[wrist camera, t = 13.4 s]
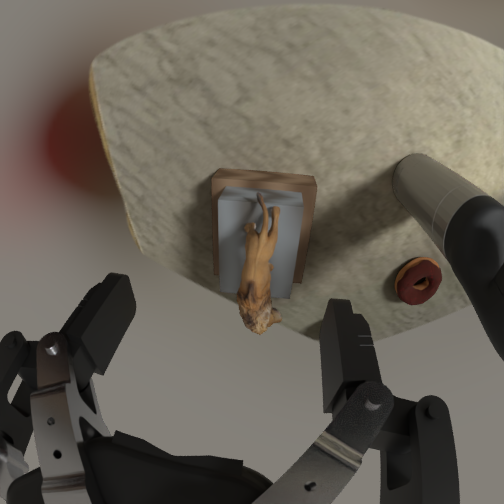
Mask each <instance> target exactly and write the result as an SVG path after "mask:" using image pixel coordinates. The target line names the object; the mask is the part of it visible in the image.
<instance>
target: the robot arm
mask: <svg viewBox="0 0 504 504" xmlns="http://www.w3.org/2000/svg"><path fill="white" fill-rule="evenodd" d="M393 190H394V193H395V195H396V197H397V199H398V200H399V201H400V202H401V203H402V205H403V206H404V207H405V208H406V209H407V210H408V212H409V213H410V214H411V215H412V216H413V217H414V219H415V220H416V221H417V222H418V223H419V225H420V226H421V227H422V228H423V229H424V231H425V232H426V233H427V234H428V236H429V237H430V238H431V239H432V241H433V242H434V243H435V245H436V246H437V247H438V248H439V250H440V251H441V252H442V254H443V255H444V256H445V258H446V259H447V260H448V262H449V263H450V265H451V267H452V269H453V272H454V273H455V275H456V277H457V278H458V280H459V282H460V283H461V285H462V286H463V288H464V290H465V292H466V293H467V295H468V297H469V299H470V301H471V303H472V305H473V307H474V309H475V311H476V313H477V315H478V317H479V319H480V321H481V323H482V325H483V327H484V329H485V331H486V334H487V335H488V337H489V339H490V341H491V343H492V344H493V346H494V348H495V350H496V351H497V353H498V354H499V356H500V357H501V358H502V360H503V361H504V206H503V205H501V204H500V203H499V202H498V201H496V200H495V199H494V198H492V197H491V196H490V195H488V194H487V193H486V192H484V191H483V190H481V189H480V188H478V187H477V186H475V185H474V184H472V183H471V182H470V181H468V180H467V179H465V178H463V177H462V176H460V175H459V174H457V173H456V172H454V171H453V170H451V169H449V168H448V167H446V166H444V165H443V164H441V163H440V162H438V161H436V160H434V159H432V158H431V157H429V156H427V155H424V154H412V155H409V156H407V157H405V158H404V159H403V160H402V161H401V162H400V163H399V164H398V166H397V168H396V169H395V172H394V175H393ZM135 312H136V301H135V298H134V294H133V291H132V287H131V283H130V280H129V277H128V276H127V275H124V274H118V273H109V274H108V275H107V276H106V278H105V279H104V280H103V282H102V283H98V284H97V285H95V286H94V287H93V288H91V289H90V290H89V291H88V293H87V294H86V295H85V297H84V298H83V300H82V301H81V302H80V304H79V305H78V307H77V308H76V309H75V310H74V312H73V313H72V314H71V316H70V317H69V318H68V320H67V321H66V323H65V324H64V326H63V327H62V329H61V330H60V331H59V332H51V333H48V334H46V335H45V336H43V338H41V340H40V341H26V339H25V338H24V336H23V335H22V333H21V332H19V331H12V332H9V333H8V334H6V335H5V336H4V337H3V339H2V340H1V342H0V497H1V498H3V499H4V500H5V501H6V503H7V504H331V503H332V502H333V501H334V499H335V498H336V497H337V496H338V495H339V493H340V492H341V491H342V490H343V489H344V487H345V486H346V485H347V483H348V482H349V481H350V480H351V478H352V477H353V476H354V474H355V473H356V471H357V470H358V468H359V467H360V465H361V463H362V461H361V459H362V457H363V456H364V454H365V453H366V451H367V450H368V448H372V449H377V450H380V458H381V490H380V504H460V495H459V478H458V467H457V458H456V450H455V443H454V436H453V432H452V431H453V430H452V425H451V420H450V414H449V410H448V407H447V405H446V403H445V402H444V401H443V400H442V399H441V398H439V397H437V396H433V395H429V396H425V397H423V398H422V399H421V400H419V402H414V401H409V400H406V399H401V398H398V397H396V396H394V395H393V394H392V392H391V391H390V389H389V388H387V386H385V385H384V384H383V383H382V380H381V375H380V371H379V366H378V361H377V357H376V352H375V348H374V347H373V345H374V344H373V340H372V337H371V331H370V327H369V324H368V323H367V321H366V320H365V319H364V317H363V316H362V315H361V314H353V310H352V306H351V302H350V300H346V299H332V298H331V299H330V300H329V302H328V305H327V308H326V312H325V315H324V318H323V321H322V325H321V329H320V354H321V369H322V387H323V409H324V413H332V417H333V420H332V422H331V423H330V424H329V425H328V427H327V428H326V429H325V430H324V431H323V433H322V434H321V435H320V436H319V437H318V438H317V439H316V440H315V441H314V443H313V444H312V445H311V446H310V447H309V448H308V449H307V450H306V452H305V453H304V454H303V455H302V456H301V457H300V458H299V459H298V460H297V461H296V462H295V463H294V464H293V466H291V467H290V468H289V469H288V470H287V472H285V473H284V474H283V475H282V476H281V477H280V478H279V479H278V480H277V481H276V482H275V483H274V484H273V483H272V482H271V481H270V480H269V479H268V478H266V477H265V476H264V475H262V474H260V473H259V472H257V471H254V470H252V469H250V468H248V467H245V466H243V460H236V459H228V458H221V457H215V456H209V455H208V456H173V455H171V454H169V453H167V452H165V451H163V450H161V449H159V448H157V447H155V446H154V445H152V444H150V443H149V442H147V441H145V440H143V439H140V438H137V437H134V436H131V435H128V434H125V433H122V432H119V431H117V430H116V431H115V434H114V436H111V434H110V432H109V430H108V428H107V426H106V425H105V423H104V421H103V419H102V416H101V412H100V409H99V405H98V401H97V397H96V393H95V388H94V384H93V380H92V378H91V377H92V375H93V373H97V374H100V375H104V373H105V371H106V369H107V367H108V365H109V363H110V361H111V359H112V357H113V355H114V353H115V351H116V349H117V348H118V345H119V344H120V342H121V340H122V338H123V336H124V334H125V332H126V330H127V329H128V327H129V325H130V323H131V321H132V320H133V318H134V315H135ZM17 374H18V375H19V376H20V377H21V378H22V382H21V384H20V386H19V388H18V390H17V392H16V394H15V396H14V398H13V401H12V403H11V404H10V403H9V402H8V399H7V394H8V391H9V389H10V387H11V385H12V383H13V381H14V379H15V377H16V376H17ZM33 430H34V437H35V443H36V448H37V453H38V459H39V463H40V467H38V468H37V469H35V470H32V471H30V472H28V471H29V466H28V464H27V463H26V462H25V461H24V454H25V451H26V448H27V446H28V443H29V440H30V437H31V435H32V432H33ZM27 472H28V473H27ZM24 473H26V474H24Z"/></svg>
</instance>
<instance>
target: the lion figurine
mask: <svg viewBox="0 0 504 504" xmlns="http://www.w3.org/2000/svg"><path fill="white" fill-rule="evenodd" d="M256 196H257V200H258V203H259V204H260V206H261V208H262V210H263V225H262V229H261V232H260V233H258V232H257V231H256V230H255V228H256V224H255V223H254V222H252V223H247V224H246V225H245V227H244V229H245V231H246V232H248V233H247V236H246V244H245V250H246V260H245V263H244V266H243V270H242V275H241V283H240V288H239V289H238V292H237V302H238V304H239V310H240V315H241V317H242V319H243V322H244V324H245V326H246V327H247V328H248V329H250V330H251V331H252V332H255V333H257V334H259V335H261V334H262V333H263V332H265V331H266V330H267V327H270V326H271V325H272V324H273V323H278V322H281V321H282V317H281V313H280V312H279V311H277V309H276V308H272V305H271V304H272V301H271V300H270V297H271V290H270V281H271V274H270V271H272V270H273V269H274V267H273V265H272V264H271V263H269V260H270V258H271V257H272V255H273V253H274V250H275V245H276V243H277V240H278V219H279V214H280V208H279V207H278V206H273V207H272V208H271V215H272V217H271V218H272V224H271V227H270V230H269V231H268V222H269V218H268V210H267V208H266V205H265V204H264V201H263V196H262V195H261V193H260V192H257V193H256Z"/></svg>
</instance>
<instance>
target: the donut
mask: <svg viewBox="0 0 504 504" xmlns="http://www.w3.org/2000/svg"><path fill="white" fill-rule="evenodd" d="M423 277H426V280H425V281H424V282H422V283H420V284H417V285H414V284H415V283H416V282H417V281H418V280H419V279H421V278H423ZM441 281H442V274H441V269H440V268H439V265H438V264H437V262H435V261H434V260H433V259H431V258H426V257H419V258H416V259H414V260H412V261H410V262H409V263H408V264H406V265H405V266H404V267H403V268H402V269H401V270H400V271H399V273H398V275H397V277H396V280H395V290H396V293H397V294H398V297H399V298H400V299H401V300H402V301H403V302H405V303H407V304H409V305H418V304H422V303H424V302H425V301H427V300H428V299H429V298H431V297H432V296H433V295H434V294H435V292H436V291H437V289H438V287H439V285H440V283H441ZM413 285H414V286H413Z"/></svg>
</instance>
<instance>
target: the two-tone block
mask: <svg viewBox="0 0 504 504" xmlns="http://www.w3.org/2000/svg"><path fill="white" fill-rule="evenodd" d="M211 182H212V233H213V262H214V275H219V277H220V292H228V293H237V292H238V289H239V288H240V283H241V275H242V270H243V266H244V263H245V260H246V250H245V244H246V236H247V233H248V232H246V231H245V229H244V227H245V225H246V224H247V223H252V222H254V223H255V224H256V228H255V230H256V231H257V232H258V233H260V232H261V229H262V225H263V210H262V208H261V206H260V204H259V203H258V200H257V196H256V193H257V192H260V193H261V195H262V196H263V201H264V204H265V205H266V208H267V210H268V218H269V222H268V231H269V230H270V227H271V224H272V218H271V217H272V215H271V208H272V207H273V206H278V207H279V208H280V214H279V219H278V240H277V243H276V245H275V250H274V253H273V255H272V257H271V258H270V260H269V263H271V264H272V265H273V267H274V269H273V270H272V271H270V274H271V281H270V290H271V297H276V298H287V299H290V294H291V288H292V283H302V277H303V272H304V267H305V261H306V256H307V250H308V244H309V238H310V232H311V226H312V220H313V214H314V207H315V201H316V194H317V184H316V181H315V178H314V176H308V175H299V174H289V173H279V172H267V171H254V170H239V169H221V168H219V170H218V171H217V172H216V173H215V175H214V176H213V177H212V178H211Z"/></svg>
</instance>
